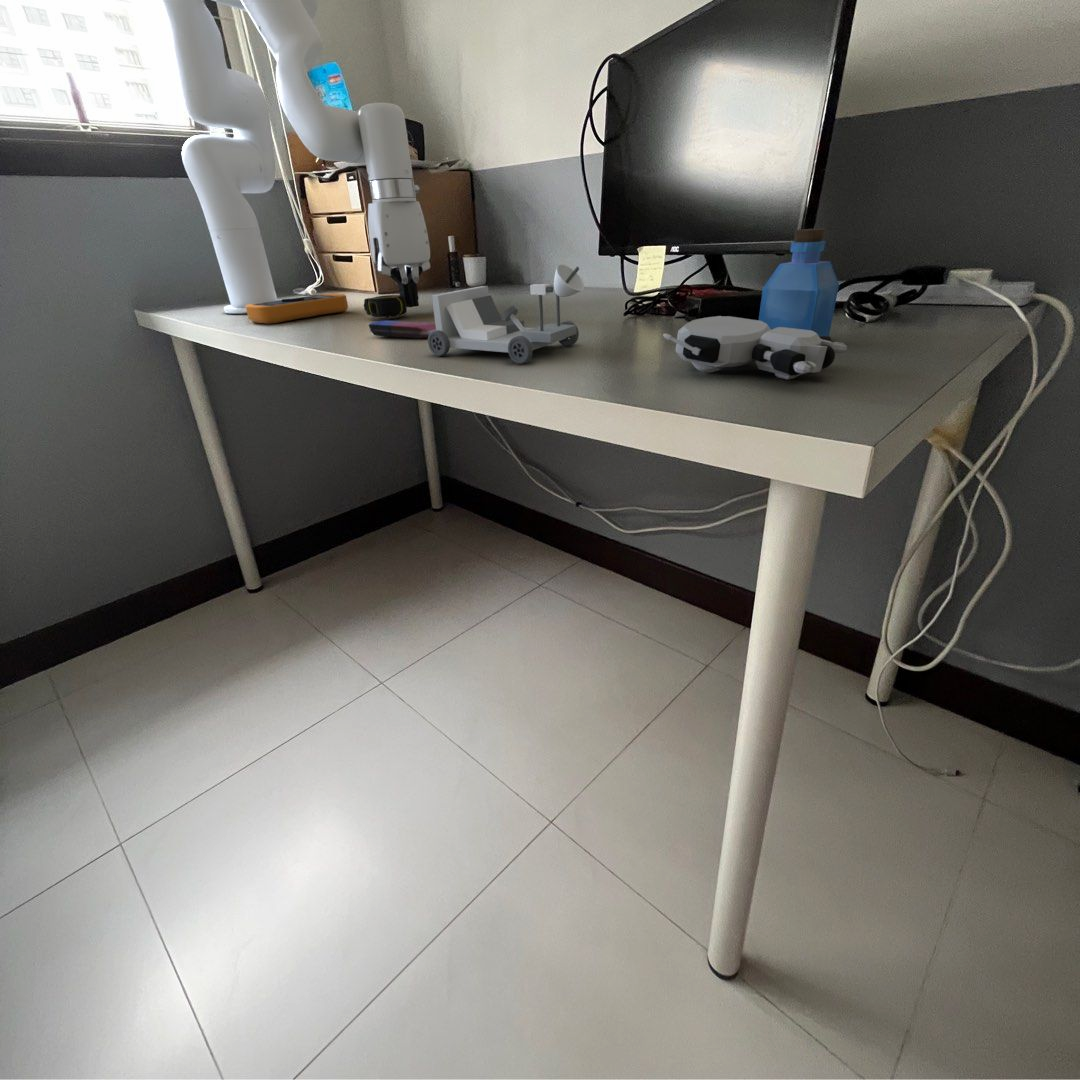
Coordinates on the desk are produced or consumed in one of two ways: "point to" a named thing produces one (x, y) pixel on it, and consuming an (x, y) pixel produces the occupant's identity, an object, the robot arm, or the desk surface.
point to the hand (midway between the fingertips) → (410, 306)
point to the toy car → (500, 320)
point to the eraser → (402, 329)
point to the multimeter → (296, 308)
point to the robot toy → (753, 346)
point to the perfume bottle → (802, 288)
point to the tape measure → (386, 306)
